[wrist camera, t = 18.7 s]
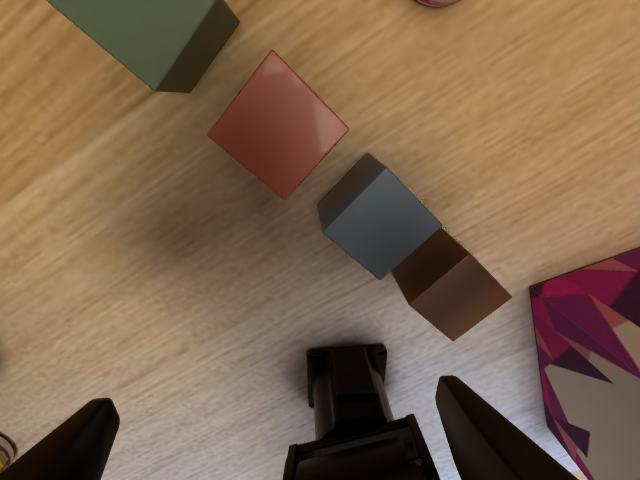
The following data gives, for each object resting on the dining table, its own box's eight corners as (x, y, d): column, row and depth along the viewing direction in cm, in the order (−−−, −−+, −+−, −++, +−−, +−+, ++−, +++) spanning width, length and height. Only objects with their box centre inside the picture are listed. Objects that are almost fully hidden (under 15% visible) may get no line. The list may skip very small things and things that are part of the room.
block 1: (240, 21, 16) (219, -6, 11) (189, 93, 17) (154, 92, 13) (160, -61, 14) (104, -126, 10) (110, 24, 15) (42, -2, 11)
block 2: (338, 122, 18) (350, 129, 14) (287, 179, 19) (284, 201, 15) (278, 60, 16) (272, 48, 12) (227, 126, 18) (206, 135, 14)
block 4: (473, 261, 22) (513, 297, 18) (426, 300, 24) (453, 342, 20) (436, 223, 21) (470, 253, 17) (388, 266, 22) (408, 304, 18)
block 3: (413, 199, 20) (443, 225, 16) (364, 246, 21) (380, 281, 17) (367, 152, 19) (386, 167, 15) (317, 204, 20) (321, 232, 16)
